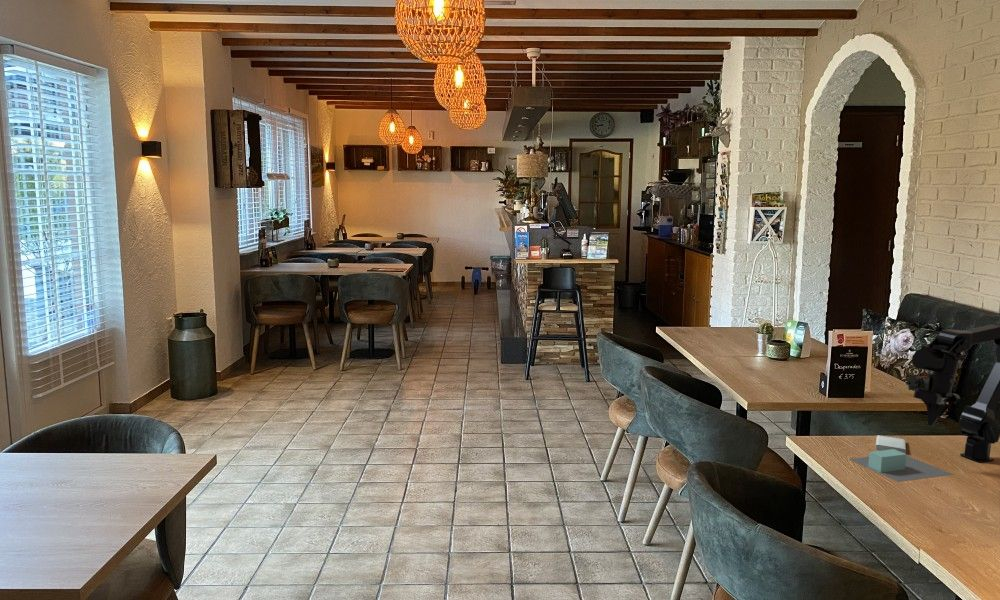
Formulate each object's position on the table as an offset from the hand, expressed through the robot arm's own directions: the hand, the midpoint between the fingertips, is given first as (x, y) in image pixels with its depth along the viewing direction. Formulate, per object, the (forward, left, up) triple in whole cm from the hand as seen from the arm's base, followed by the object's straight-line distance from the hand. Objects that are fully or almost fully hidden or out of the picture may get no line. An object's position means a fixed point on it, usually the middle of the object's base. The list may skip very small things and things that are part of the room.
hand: (930, 425), depth 219 cm
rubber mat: (+10, 0, -12) cm, 16 cm away
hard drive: (-2, -15, -12) cm, 19 cm away
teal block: (+10, 0, -9) cm, 14 cm away
